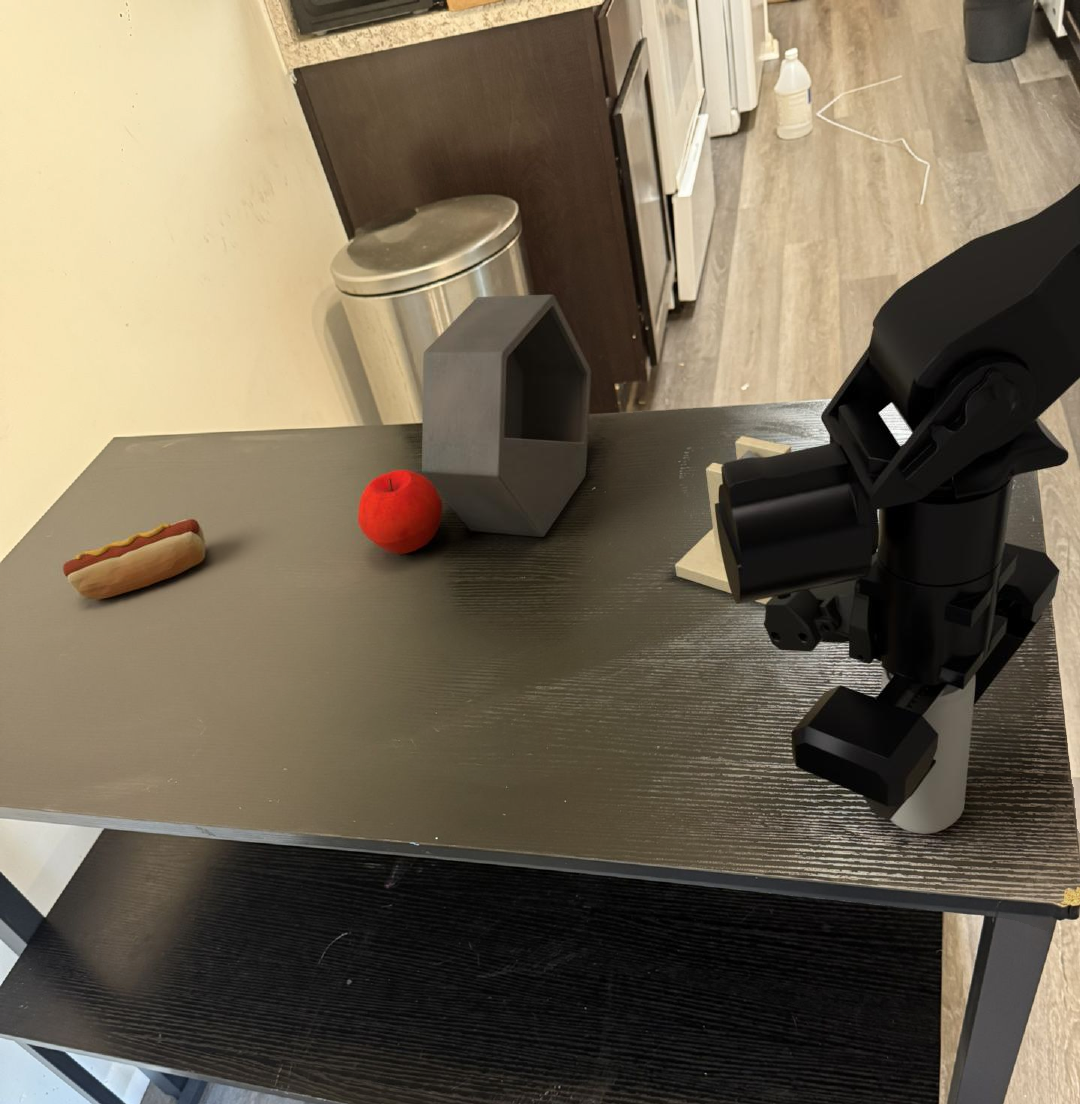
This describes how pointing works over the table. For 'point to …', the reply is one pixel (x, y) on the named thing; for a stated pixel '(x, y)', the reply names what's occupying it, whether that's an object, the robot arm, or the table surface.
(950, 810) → the beverage can
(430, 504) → the apple
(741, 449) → the bracket
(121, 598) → the table surface
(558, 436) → the planter
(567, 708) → the table surface
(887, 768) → the robot arm
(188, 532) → the food
